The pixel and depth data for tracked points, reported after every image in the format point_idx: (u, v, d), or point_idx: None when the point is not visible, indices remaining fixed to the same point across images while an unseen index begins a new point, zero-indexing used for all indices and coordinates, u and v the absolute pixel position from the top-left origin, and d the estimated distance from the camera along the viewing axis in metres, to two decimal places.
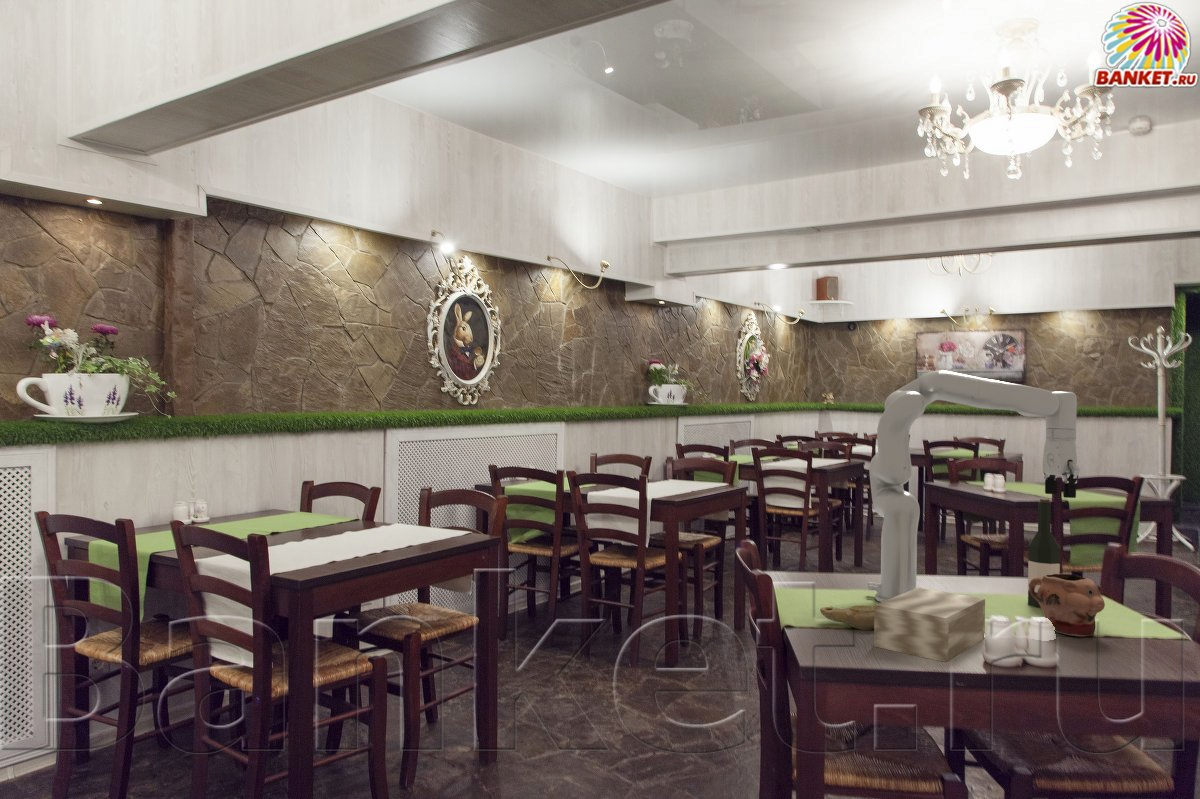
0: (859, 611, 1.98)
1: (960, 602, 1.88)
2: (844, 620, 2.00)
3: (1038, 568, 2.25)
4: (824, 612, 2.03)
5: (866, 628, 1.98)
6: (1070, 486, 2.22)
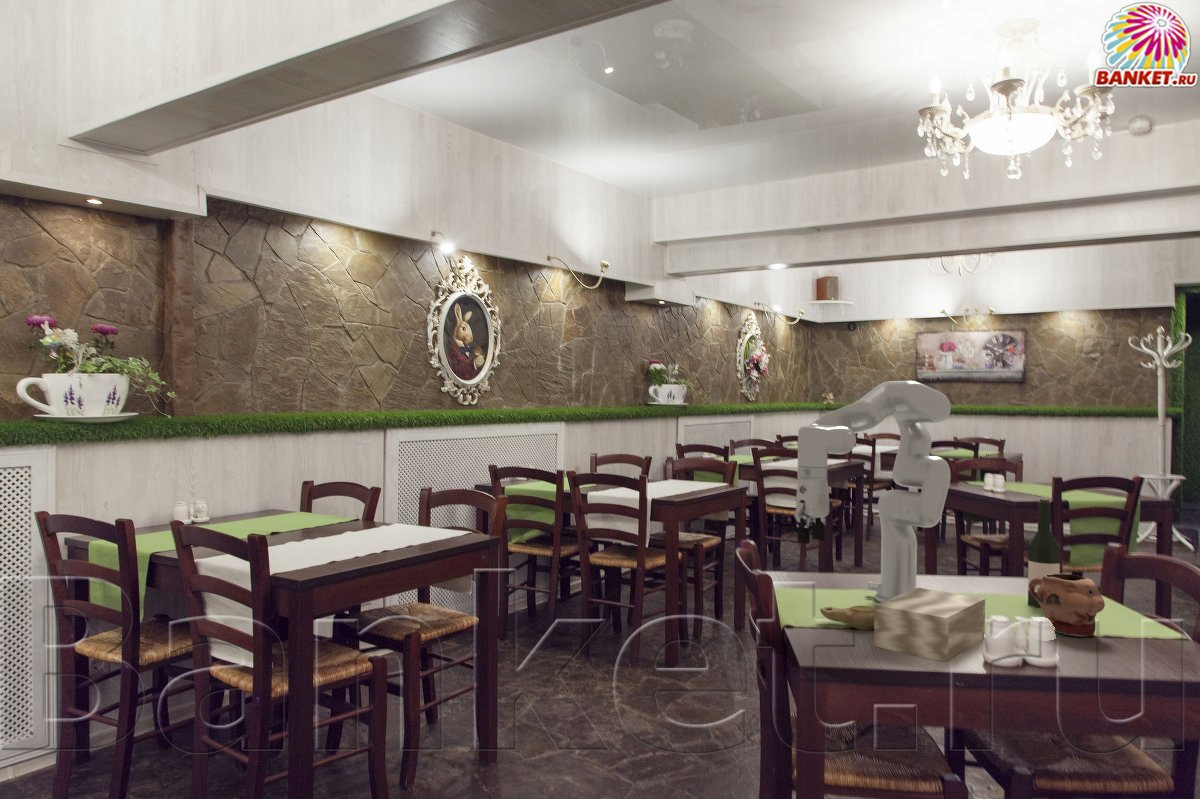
0: (859, 611, 1.98)
1: (960, 602, 1.88)
2: (844, 620, 2.00)
3: (1038, 567, 2.25)
4: (824, 612, 2.03)
5: (866, 628, 1.98)
6: None
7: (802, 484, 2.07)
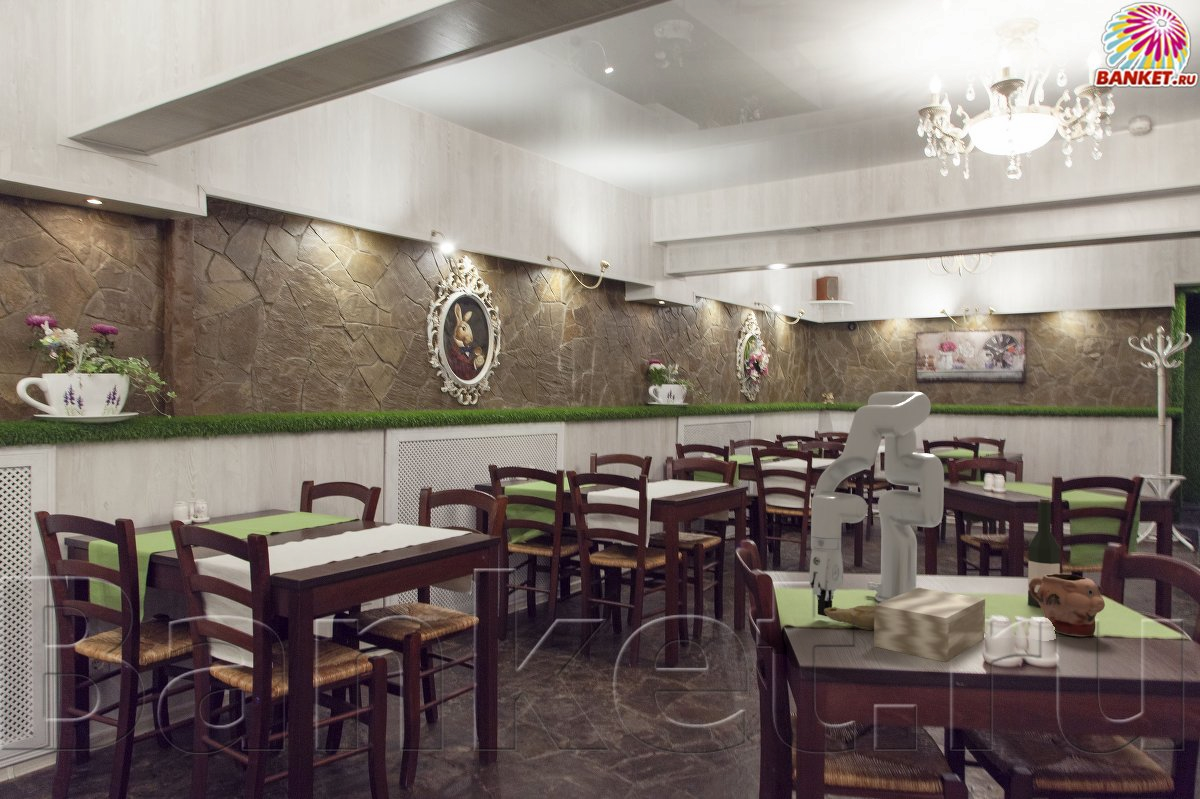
0: (864, 611, 1.98)
1: (960, 602, 1.88)
2: (849, 620, 2.00)
3: (1038, 567, 2.25)
4: (828, 613, 2.02)
5: (871, 628, 1.98)
6: None
7: (816, 555, 2.04)
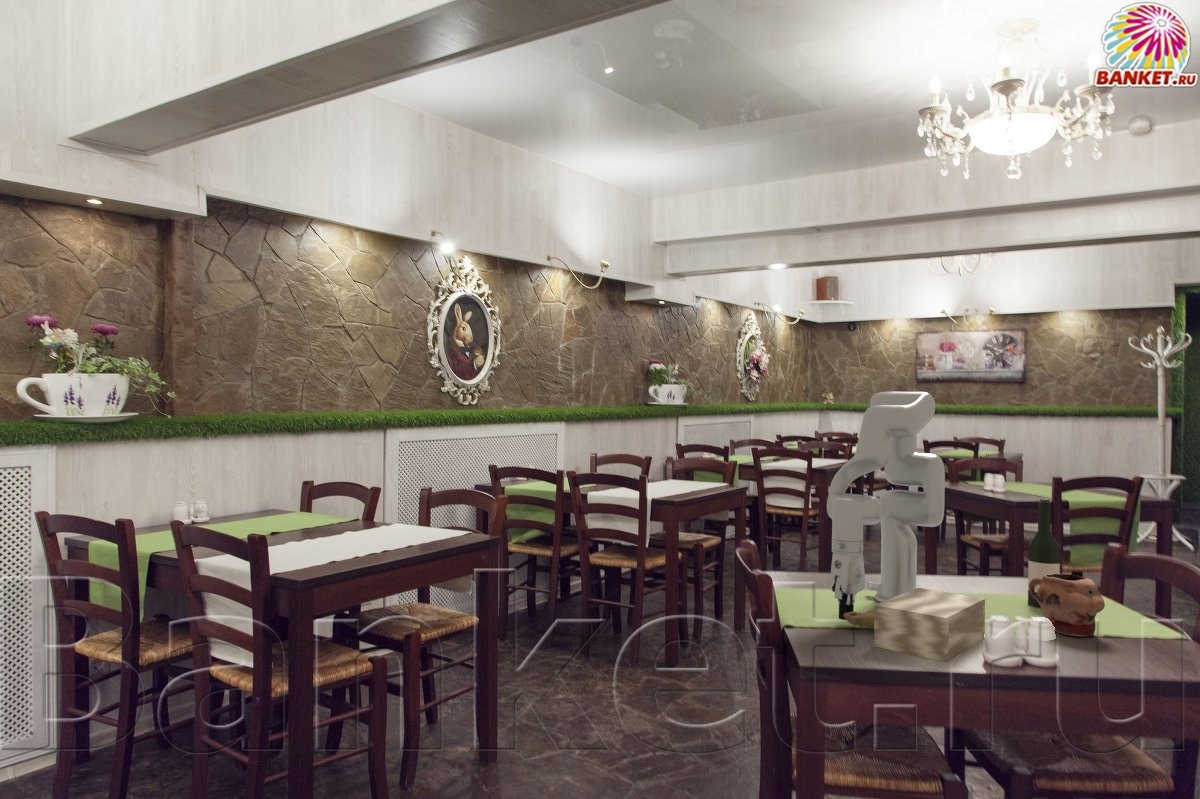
0: None
1: (960, 602, 1.88)
2: (871, 625, 1.96)
3: (1038, 567, 2.25)
4: (850, 618, 1.97)
5: None
6: None
7: (837, 559, 2.00)
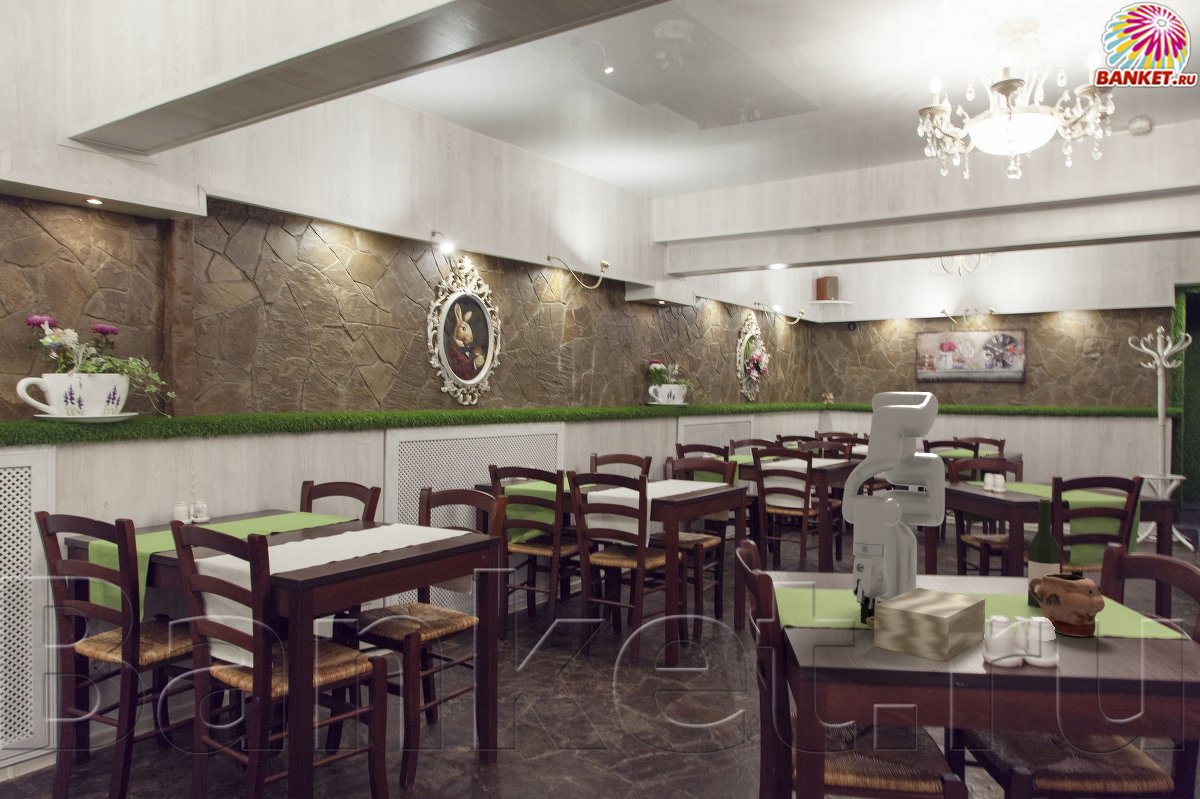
0: None
1: (960, 602, 1.88)
2: None
3: (1038, 567, 2.25)
4: None
5: None
6: None
7: (859, 562, 1.96)
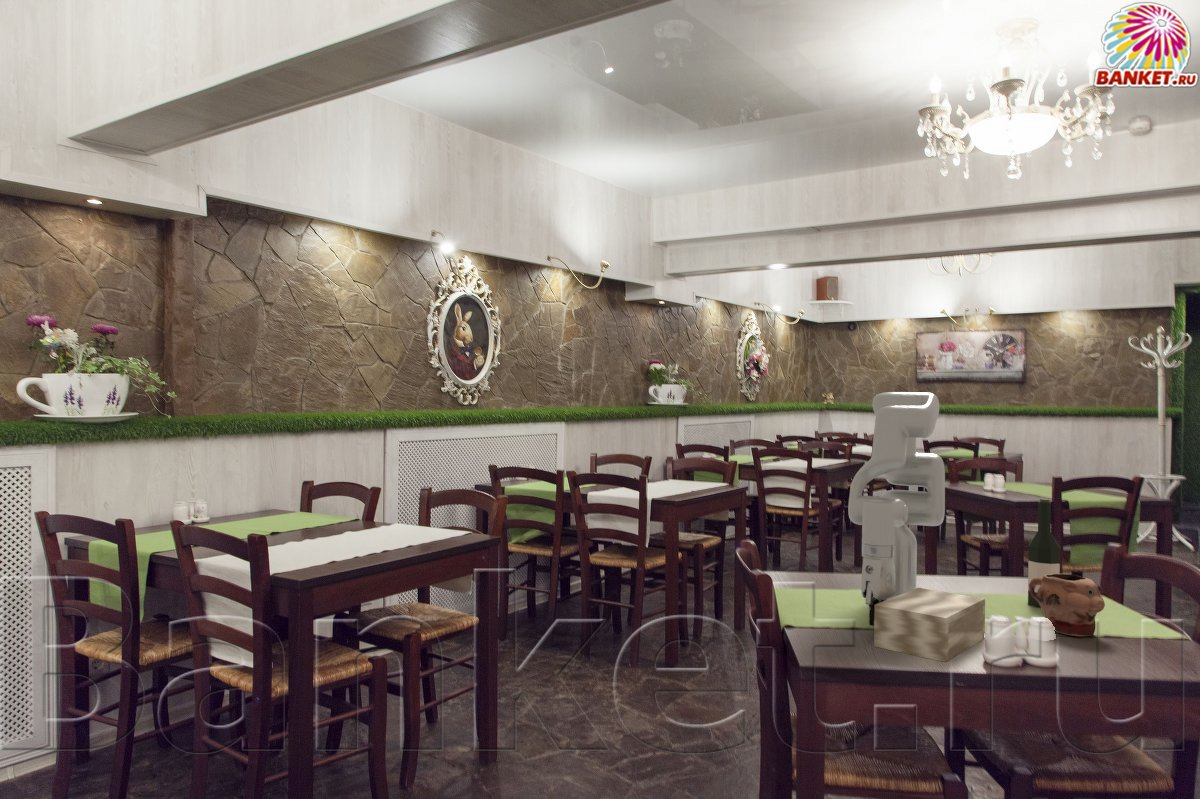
0: None
1: (960, 602, 1.88)
2: None
3: (1038, 568, 2.25)
4: None
5: None
6: None
7: (868, 564, 1.94)
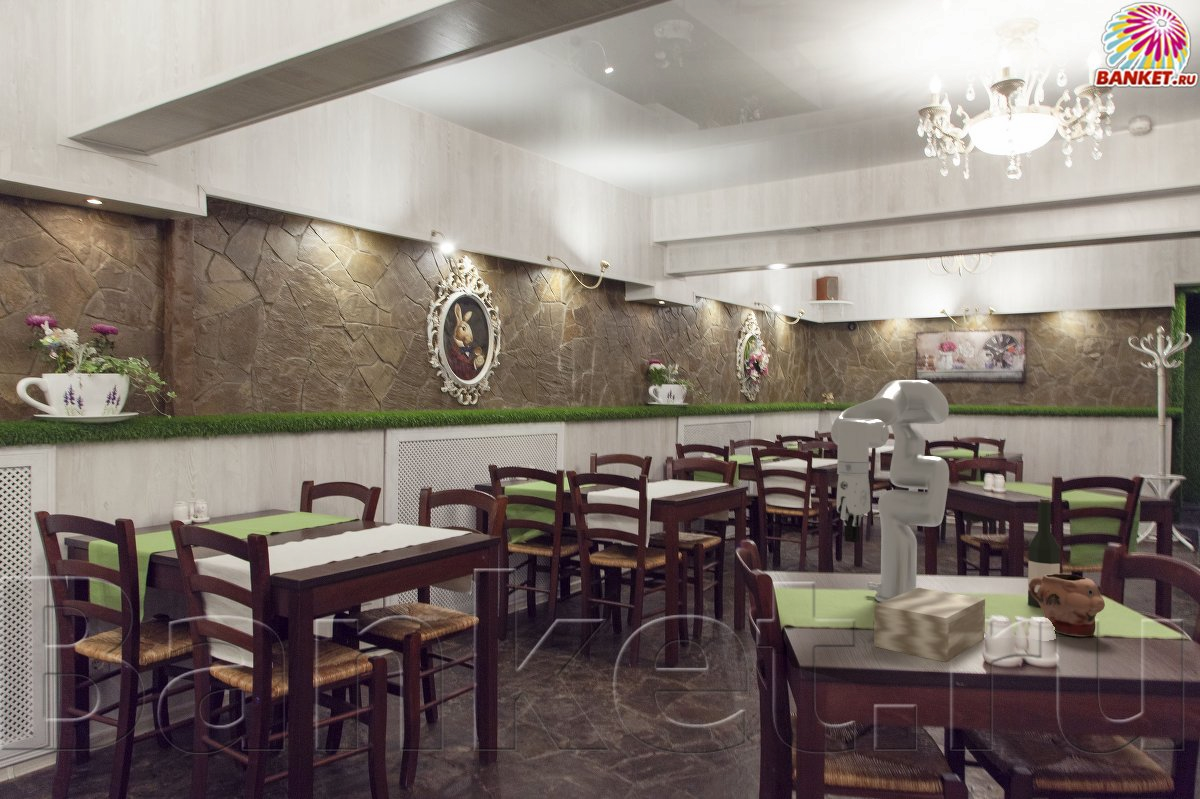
0: None
1: (960, 602, 1.88)
2: None
3: (1038, 567, 2.25)
4: None
5: None
6: None
7: (843, 480, 2.00)
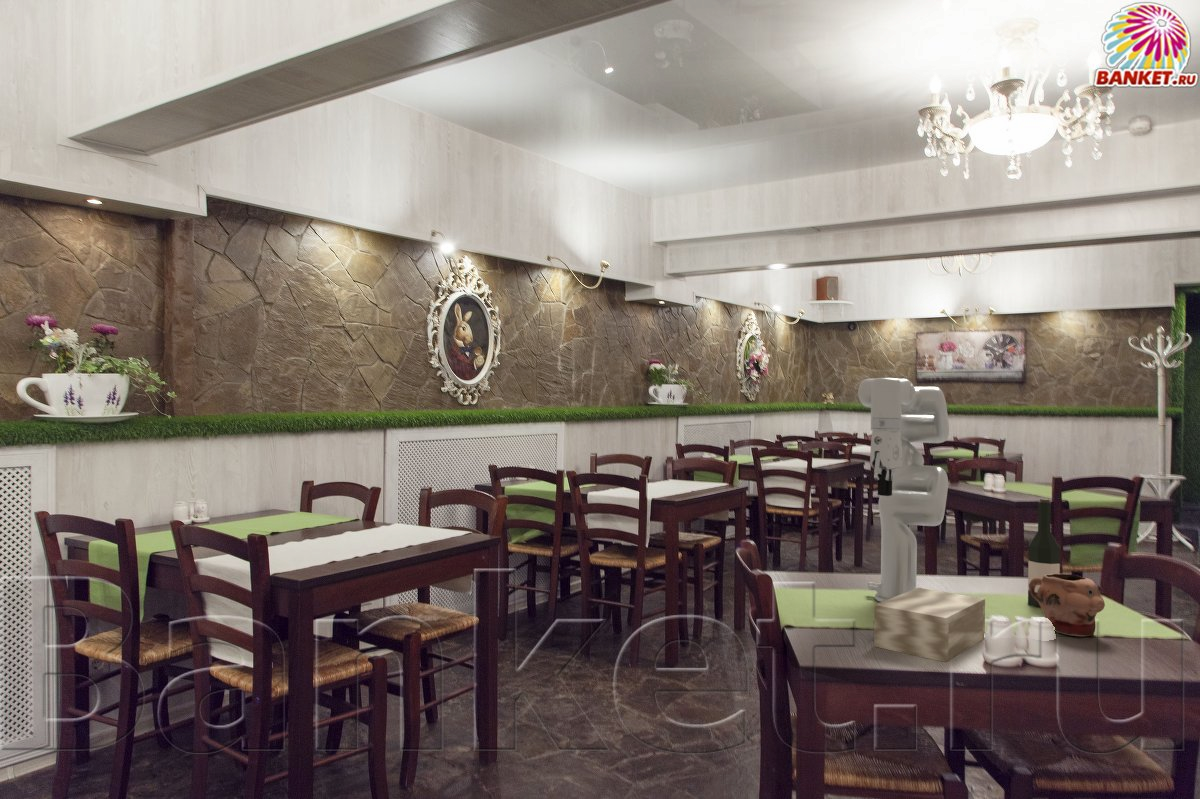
0: None
1: (960, 602, 1.88)
2: None
3: (1038, 568, 2.25)
4: None
5: None
6: None
7: (877, 435, 2.07)
